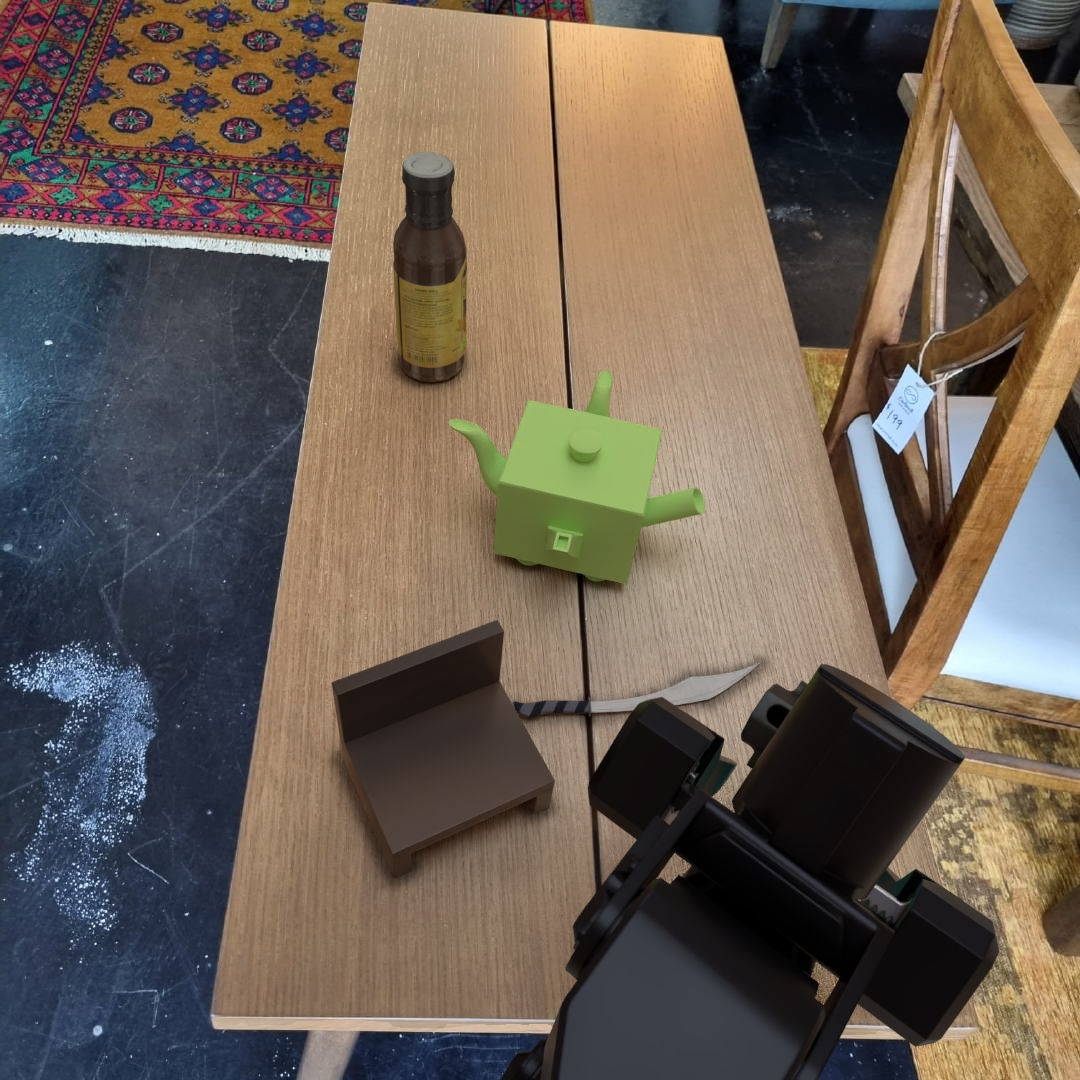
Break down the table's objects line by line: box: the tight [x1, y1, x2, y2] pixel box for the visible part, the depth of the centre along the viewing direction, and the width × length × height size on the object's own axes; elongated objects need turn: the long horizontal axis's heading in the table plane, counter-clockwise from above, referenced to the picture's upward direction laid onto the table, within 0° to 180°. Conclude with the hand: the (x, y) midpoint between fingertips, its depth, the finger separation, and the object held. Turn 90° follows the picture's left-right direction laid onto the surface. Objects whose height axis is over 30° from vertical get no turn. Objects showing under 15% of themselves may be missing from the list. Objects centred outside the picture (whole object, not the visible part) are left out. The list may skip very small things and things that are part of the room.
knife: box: [512, 661, 761, 719], centre depth 71 cm, size 19×2×1 cm, turn 104°
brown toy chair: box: [331, 619, 556, 879], centre depth 63 cm, size 9×11×10 cm
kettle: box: [448, 369, 706, 585], centre depth 76 cm, size 15×14×11 cm
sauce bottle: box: [392, 151, 468, 383], centre depth 85 cm, size 6×6×20 cm
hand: (802, 819), depth 54 cm, fingers open, 9 cm apart
